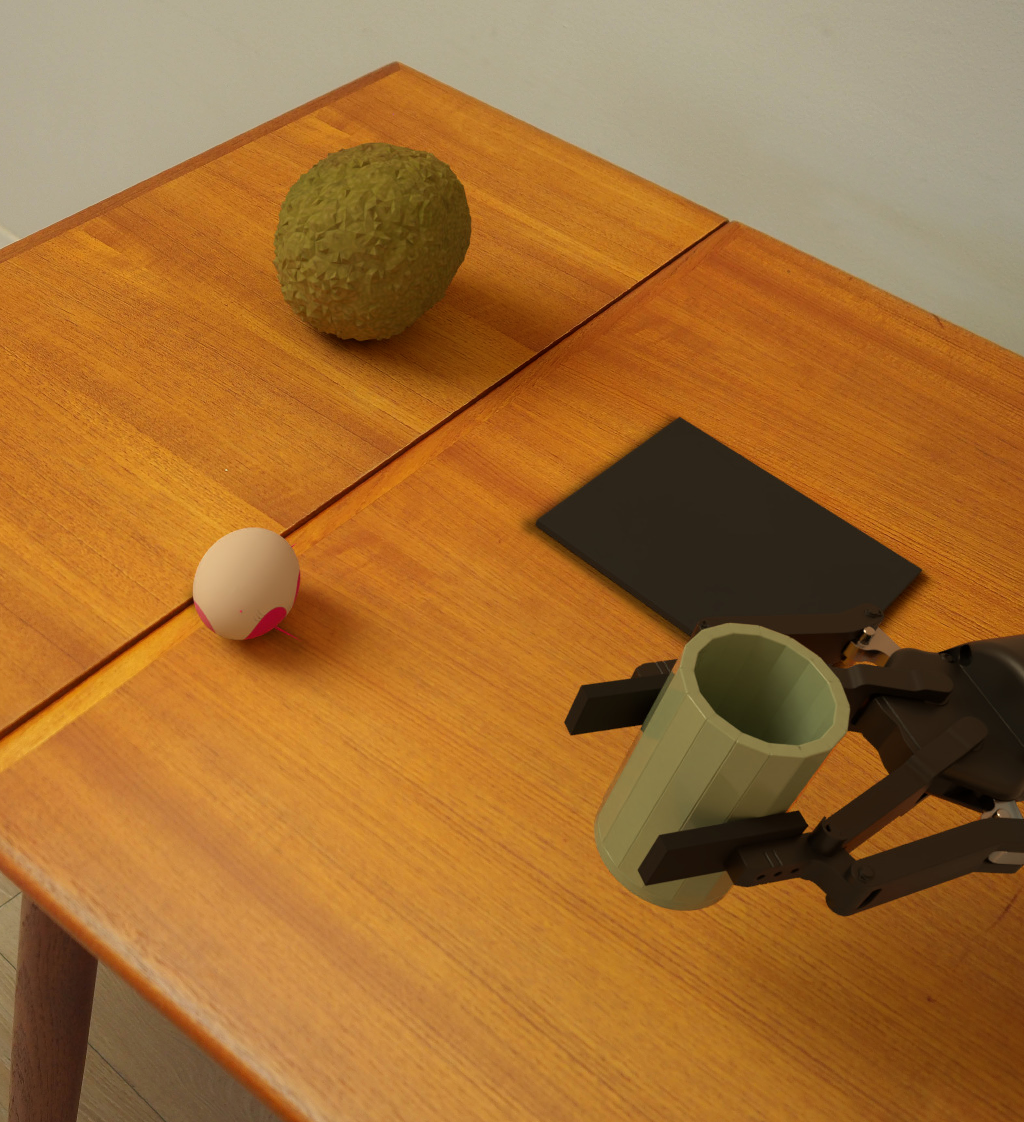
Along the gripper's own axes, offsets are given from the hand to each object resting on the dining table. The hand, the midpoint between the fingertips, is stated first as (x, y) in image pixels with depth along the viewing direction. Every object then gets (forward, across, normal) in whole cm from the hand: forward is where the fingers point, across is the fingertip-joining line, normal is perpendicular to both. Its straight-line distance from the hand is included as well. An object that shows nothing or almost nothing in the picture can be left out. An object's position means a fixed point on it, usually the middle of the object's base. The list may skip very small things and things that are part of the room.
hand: (612, 782), depth 54 cm
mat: (-25, +25, -15) cm, 38 cm away
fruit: (-8, +54, -15) cm, 56 cm away
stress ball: (+9, +24, -15) cm, 29 cm away
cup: (-5, 0, -6) cm, 8 cm away
